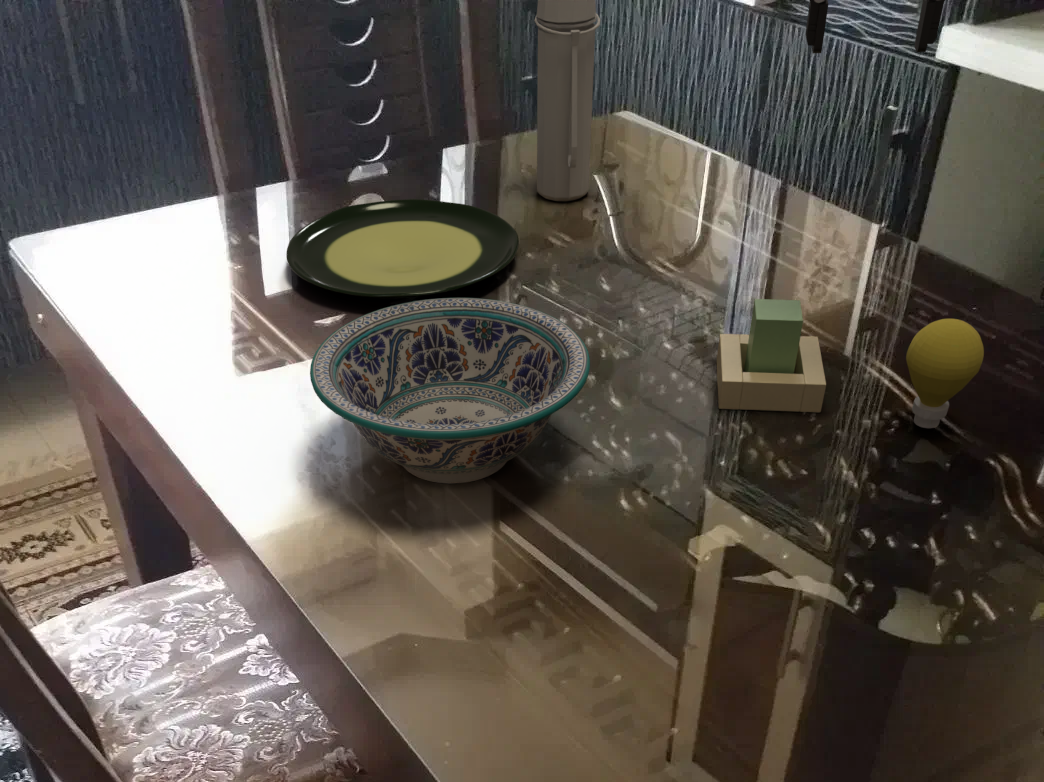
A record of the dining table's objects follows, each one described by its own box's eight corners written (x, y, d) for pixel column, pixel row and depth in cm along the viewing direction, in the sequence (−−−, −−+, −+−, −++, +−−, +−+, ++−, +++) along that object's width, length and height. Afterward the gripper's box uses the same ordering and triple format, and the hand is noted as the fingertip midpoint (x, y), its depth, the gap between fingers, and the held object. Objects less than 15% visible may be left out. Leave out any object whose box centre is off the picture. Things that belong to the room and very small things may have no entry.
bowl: (272, 448, 111) (255, 355, 104) (471, 363, 121) (468, 273, 114) (432, 566, 97) (425, 467, 90) (641, 457, 108) (649, 362, 101)
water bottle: (528, 186, 155) (528, -33, 137) (584, 180, 156) (592, -38, 138) (543, 212, 149) (545, -14, 131) (601, 206, 150) (612, -19, 132)
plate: (243, 263, 140) (239, 242, 139) (419, 199, 153) (417, 180, 151) (384, 339, 126) (382, 317, 124) (566, 262, 138) (567, 241, 136)
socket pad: (812, 363, 119) (818, 336, 117) (820, 412, 112) (826, 384, 110) (716, 360, 120) (719, 333, 118) (718, 409, 114) (722, 381, 111)
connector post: (786, 375, 118) (800, 299, 112) (789, 397, 115) (803, 320, 109) (743, 374, 118) (754, 298, 112) (744, 395, 115) (756, 319, 109)
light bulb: (888, 435, 109) (913, 334, 102) (892, 400, 114) (917, 302, 107) (961, 444, 108) (993, 343, 101) (963, 409, 112) (993, 310, 105)
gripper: (814, -184, 84) (784, 65, 96) (1018, -192, 82) (962, 62, 94) (808, -198, 90) (780, 39, 101) (999, -206, 88) (949, 37, 99)
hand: (868, 50), depth 98 cm, fingers open, 8 cm apart
